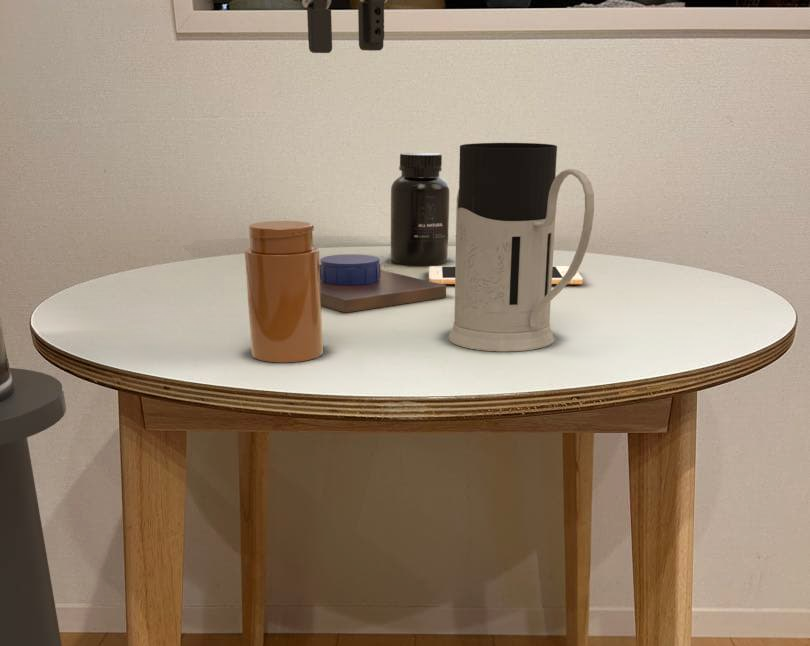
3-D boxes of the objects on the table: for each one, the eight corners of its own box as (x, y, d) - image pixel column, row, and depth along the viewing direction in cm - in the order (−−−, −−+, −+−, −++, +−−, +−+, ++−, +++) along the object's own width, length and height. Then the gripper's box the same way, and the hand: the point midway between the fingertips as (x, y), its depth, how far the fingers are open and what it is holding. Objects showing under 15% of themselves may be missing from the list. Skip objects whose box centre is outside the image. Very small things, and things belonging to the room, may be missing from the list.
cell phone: (583, 284, 105) (583, 278, 105) (428, 284, 105) (428, 278, 105) (573, 271, 112) (573, 266, 112) (428, 271, 112) (428, 266, 112)
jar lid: (369, 273, 106) (368, 252, 105) (387, 283, 101) (387, 261, 100) (314, 277, 104) (313, 256, 103) (330, 287, 99) (329, 265, 98)
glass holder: (510, 322, 90) (517, 141, 83) (622, 356, 79) (640, 150, 72) (428, 334, 85) (429, 144, 79) (535, 372, 74) (546, 155, 68)
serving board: (345, 313, 93) (344, 299, 93) (261, 287, 105) (260, 275, 105) (446, 297, 100) (446, 285, 99) (356, 274, 112) (356, 263, 111)
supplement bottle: (429, 268, 116) (430, 156, 111) (379, 263, 119) (378, 154, 114) (458, 259, 121) (460, 152, 116) (410, 255, 124) (410, 150, 119)
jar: (274, 366, 76) (266, 232, 72) (239, 352, 80) (229, 223, 76) (336, 355, 79) (332, 225, 75) (299, 341, 83) (293, 218, 79)
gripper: (424, -167, 84) (423, 50, 90) (332, -140, 94) (337, 54, 101) (349, -180, 79) (353, 49, 86) (260, -149, 90) (271, 53, 97)
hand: (345, 51), depth 93 cm, fingers open, 8 cm apart
